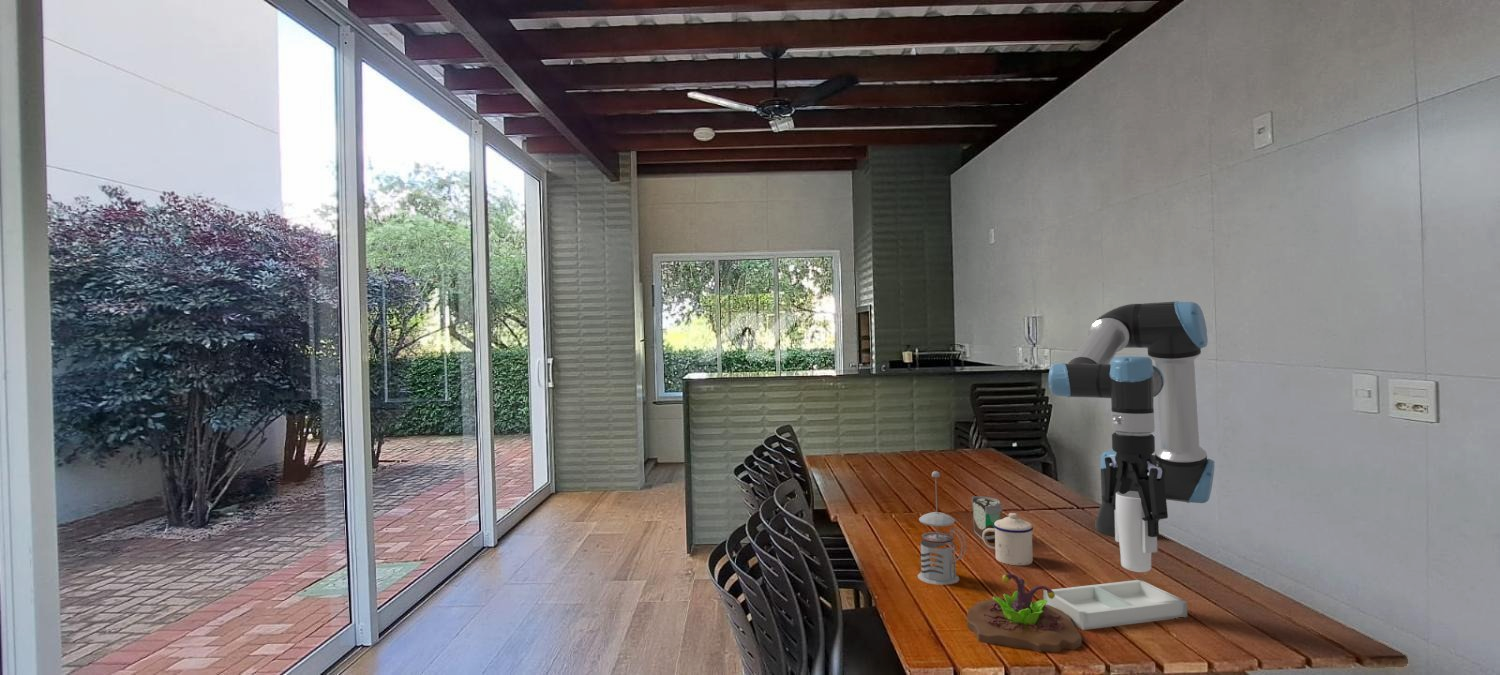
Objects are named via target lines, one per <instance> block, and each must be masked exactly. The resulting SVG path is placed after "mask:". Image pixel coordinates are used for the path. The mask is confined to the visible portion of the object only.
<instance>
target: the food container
mask: <svg viewBox="0 0 1500 675" xmlns="http://www.w3.org/2000/svg"><path fill="white" fill-rule="evenodd" d="M971 504H972V513H973V514H972V515H973V516H972V518H973V532H974V533H975V534H976V535H977V536H978V537H979V538H980V539H981V540H982V541H983V538H982V533H983V531H984V530H985V529H988V528H993V529H995V527H994V523H995V521H997V520H1000V519H1001V518H1000V516H1001V512H1003V507H1002V504H1001V502H1000V500H999V499H997V498H993V497H988V496H981V495H980V496H978V495H977V496H975V495H974V496H973V495H972V496H971ZM985 537H986V540H987V541H988V543H990V542H995V532H986V534H985Z"/></svg>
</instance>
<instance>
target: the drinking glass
mask: <svg viewBox="0 0 1500 675" xmlns="http://www.w3.org/2000/svg"><path fill="white" fill-rule="evenodd" d="M1115 508H1116V520H1117V528H1118V537H1119V542H1118V543H1119V544H1118V545H1119V552H1120V565H1121V567H1122V568H1123V569H1125V570H1127V571H1132V572H1136V573H1146V572H1149V571H1151V569H1152V553H1144V552H1143V550H1142V518H1145V515H1144V511H1143V508H1142V504H1141V498H1140V497H1139V493H1138V491H1128V492H1127V493H1125V494H1121V493H1120V492H1116V500H1115ZM1151 514H1152V512H1151Z"/></svg>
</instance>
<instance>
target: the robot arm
mask: <svg viewBox="0 0 1500 675" xmlns="http://www.w3.org/2000/svg"><path fill="white" fill-rule="evenodd" d="M1087 334H1088V335H1087V336H1088V337H1087V338H1086V339H1085V340H1084V342H1083V343H1082V344H1081V346H1080V347H1079V349H1078V350H1077V351H1076V352H1075V354H1074V356H1072V358H1071V359H1070V360H1069V362H1068V363H1065V362H1062V363H1054V364H1053V365H1052V364H1051V366H1050V368H1049V372H1048V379H1047V380H1048V388H1049V390H1050V393H1051V394H1052V395H1053V396H1057V397H1067V398H1093V399H1094V398H1098V399H1099V398H1100V399H1101V398H1102V399H1110V400H1111V401H1110V402H1111V430H1112V431H1114V432H1113V433H1111V447H1112V448H1111V449H1108V450H1106V451H1104V452H1103V453H1102V454H1101V457H1100V466H1099V469H1100V486H1101V487H1100V488H1101V489H1100V490H1101V492H1100V493H1101V502H1100V503H1101V504H1100V507H1099V509H1098V514H1097V517H1096V518H1095V521H1094V523H1095V525H1094V526H1095V530H1096V531H1097V532H1099V533H1100V534H1103V535H1106V536H1110V537H1114V541H1115V542H1116V543H1119V537H1118V528H1117V520H1116V508H1115V500H1116V492H1120V493H1121V494H1125V493H1127V492H1128V491H1138V493H1139V497H1140V498H1141V504H1142V508H1143V511H1144V515H1145V518H1142V550H1143V552H1144V553H1151V554H1152V553H1158V537H1159V535H1160V534H1159V531H1160V530H1159V529H1160V528H1159V525H1160V524H1159V523H1160V522H1159V521H1160V520H1164V519H1168V517H1169V515H1168V514H1169V513H1168V505H1167V504H1168V503H1167V500H1168V501H1175V502H1184V503H1187V504H1190V503H1194V504H1205V503H1207V502H1208V501H1209V500H1210V497H1211V493H1212V487H1213V482H1214V474H1215V460H1213V459H1211V458H1208V453H1207V451H1206V450H1205V449H1203V448H1202V447H1201V446H1200V435H1199V420H1198V419H1199V418H1198V402H1197V401H1198V400H1197V387H1196V384H1197V383H1196V369H1195V359H1196V358H1198V357H1199V356H1200V355H1201V353H1202V351H1201V350H1202V349H1203V348H1206V347H1207V346H1208V344H1209V343H1208V340H1209V339H1208V330H1207V324H1206V320H1205V316H1204V313H1203V310H1202V308H1201V305H1200V304H1198V303H1196V302H1193V301H1168V302H1167V301H1163V302H1149V303H1146V302H1145V303H1130V304H1125V305H1124V304H1123V305H1121V306H1118V307H1115V308H1113V309H1111V310H1109V311H1107V312H1105V313H1104V314H1102V315H1101V316H1099V317H1098V318H1096V319H1095V321H1094V322H1093V323H1092V324H1091V326H1090V327H1089V329H1088V333H1087ZM1127 348H1128V349H1131V348H1132V349H1133V348H1134V349H1135V348H1140V349H1141V348H1142V349H1147V356H1116V354H1117V352H1120V351H1122V350H1123V349H1127ZM1153 361H1154V364H1153ZM1156 396H1157V405H1158V420H1159V434H1160V436H1159V438H1160V446H1158V447H1157V448H1156V447H1155V446H1156V442H1155V441H1156V438H1155V435H1154V434H1152V433H1154V432H1155V429H1156V428H1155V411H1154V410H1155V409H1154V397H1156ZM1151 512H1152V514H1151Z"/></svg>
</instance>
